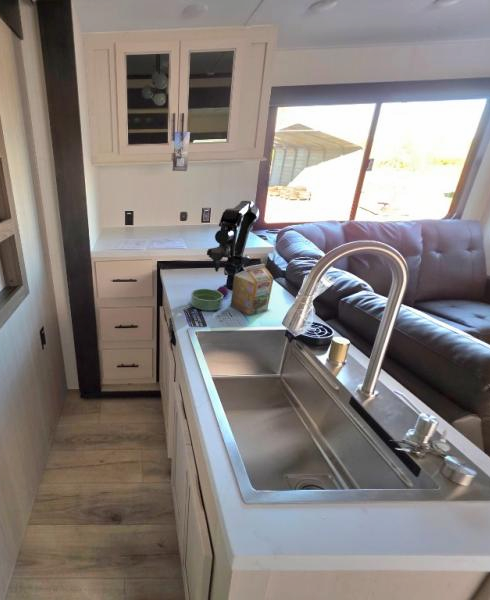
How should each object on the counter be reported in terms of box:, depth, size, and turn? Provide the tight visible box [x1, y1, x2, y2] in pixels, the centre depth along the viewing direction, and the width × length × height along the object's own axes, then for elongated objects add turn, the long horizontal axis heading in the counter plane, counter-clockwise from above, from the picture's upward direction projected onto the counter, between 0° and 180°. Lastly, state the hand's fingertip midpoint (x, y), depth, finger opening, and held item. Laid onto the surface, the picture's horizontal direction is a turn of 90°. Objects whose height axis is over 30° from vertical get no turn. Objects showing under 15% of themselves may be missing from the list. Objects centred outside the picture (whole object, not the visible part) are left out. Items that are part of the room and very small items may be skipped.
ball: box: [216, 285, 229, 298], centre depth 144 cm, size 5×5×5 cm
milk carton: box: [229, 263, 274, 316], centre depth 130 cm, size 11×11×19 cm
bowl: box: [190, 288, 224, 312], centre depth 136 cm, size 13×13×5 cm
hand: (224, 274), depth 141 cm, fingers open, 9 cm apart
